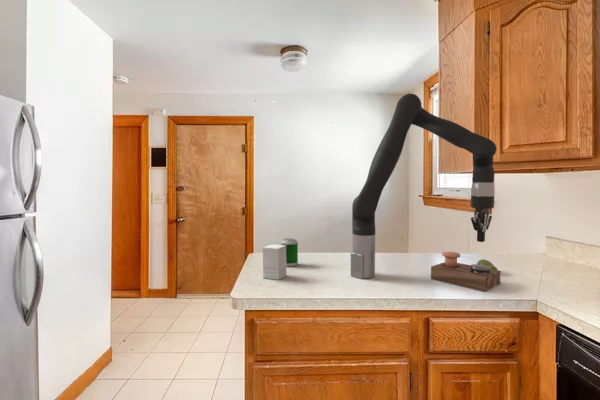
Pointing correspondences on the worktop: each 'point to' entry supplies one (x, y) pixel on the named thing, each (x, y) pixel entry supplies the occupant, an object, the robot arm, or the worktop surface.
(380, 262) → the worktop surface
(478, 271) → the grey knob
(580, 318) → the worktop surface
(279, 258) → the supplement box
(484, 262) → the pear
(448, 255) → the tan round knob
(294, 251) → the soda can
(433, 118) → the robot arm
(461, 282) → the brown wooden block
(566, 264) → the worktop surface
